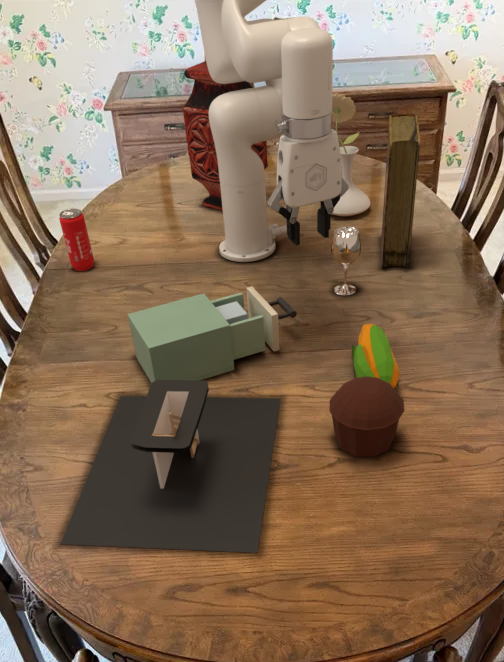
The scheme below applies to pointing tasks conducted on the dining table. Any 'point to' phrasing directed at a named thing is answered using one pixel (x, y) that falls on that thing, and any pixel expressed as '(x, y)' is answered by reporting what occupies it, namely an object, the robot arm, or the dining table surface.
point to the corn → (375, 356)
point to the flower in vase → (347, 161)
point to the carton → (232, 312)
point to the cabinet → (182, 340)
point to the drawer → (255, 323)
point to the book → (400, 188)
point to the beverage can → (76, 239)
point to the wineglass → (345, 254)
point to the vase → (208, 131)
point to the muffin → (366, 415)
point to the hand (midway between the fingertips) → (308, 237)
